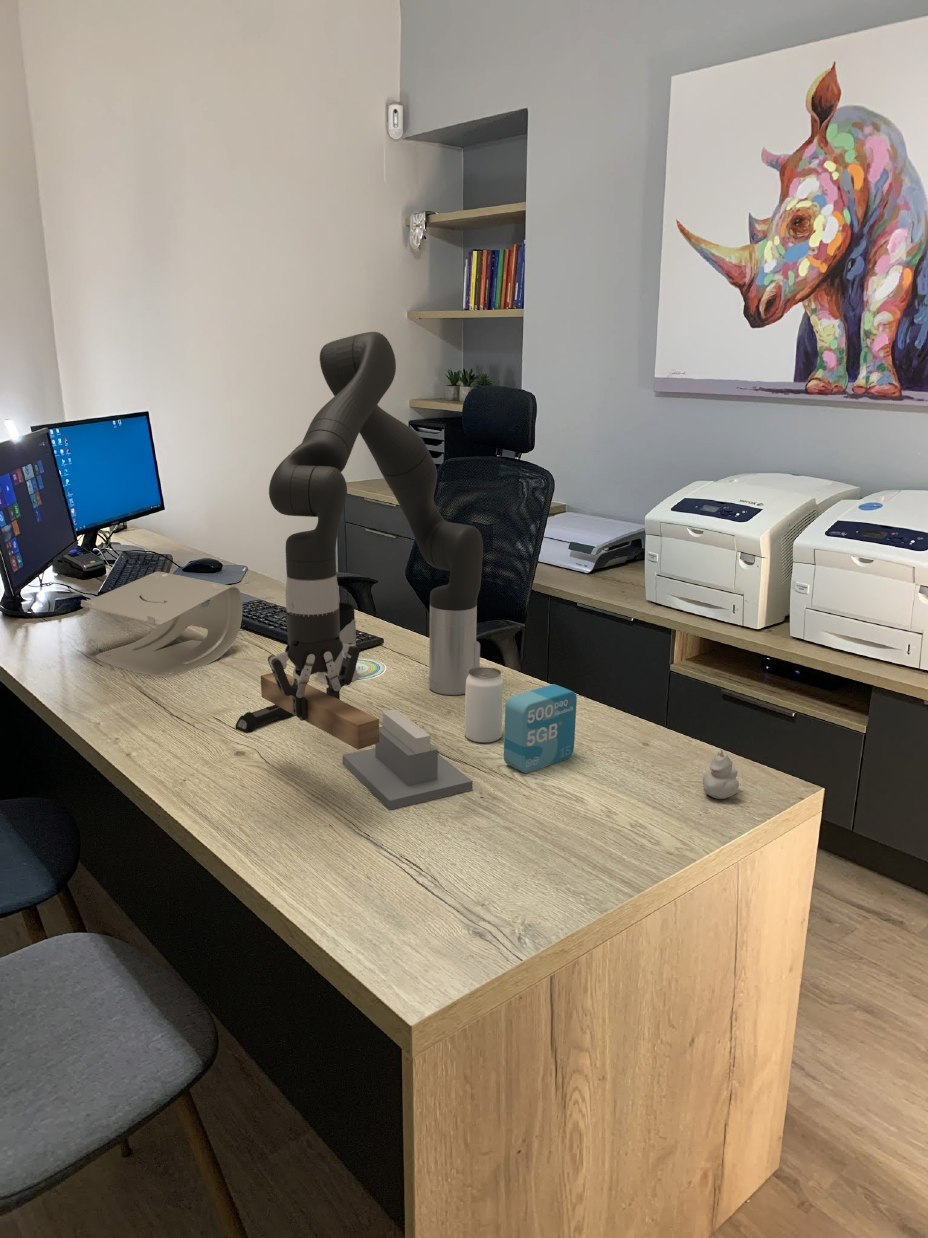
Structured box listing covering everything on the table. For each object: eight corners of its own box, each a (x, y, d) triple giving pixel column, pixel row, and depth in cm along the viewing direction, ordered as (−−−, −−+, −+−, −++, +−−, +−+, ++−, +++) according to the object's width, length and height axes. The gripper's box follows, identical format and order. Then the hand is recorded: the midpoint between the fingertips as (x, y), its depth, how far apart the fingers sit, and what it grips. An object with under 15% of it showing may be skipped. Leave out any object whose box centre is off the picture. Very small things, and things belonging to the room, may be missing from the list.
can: (506, 732, 163) (508, 668, 160) (495, 746, 157) (497, 680, 154) (471, 727, 165) (472, 664, 162) (459, 740, 159) (460, 675, 156)
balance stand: (419, 747, 156) (419, 697, 154) (472, 790, 141) (473, 735, 139) (342, 763, 150) (341, 711, 147) (389, 810, 135) (389, 753, 132)
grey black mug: (347, 687, 184) (345, 614, 180) (284, 678, 188) (281, 607, 184) (365, 673, 192) (364, 604, 188) (304, 665, 196) (302, 597, 192)
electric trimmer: (314, 712, 172) (314, 696, 171) (247, 735, 160) (246, 718, 160) (301, 707, 174) (300, 691, 174) (234, 729, 163) (233, 713, 162)
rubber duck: (692, 794, 141) (697, 746, 139) (718, 783, 145) (723, 736, 143) (722, 808, 137) (727, 758, 135) (747, 795, 141) (753, 747, 139)
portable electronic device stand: (248, 651, 204) (244, 584, 200) (163, 681, 185) (157, 607, 181) (169, 632, 217) (164, 568, 213) (82, 658, 198) (75, 588, 194)
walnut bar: (261, 697, 145) (260, 675, 144) (281, 691, 148) (280, 670, 147) (358, 749, 127) (357, 725, 126) (379, 742, 129) (378, 719, 128)
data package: (521, 776, 146) (523, 705, 143) (502, 766, 150) (504, 697, 147) (574, 757, 154) (578, 689, 150) (555, 748, 157) (558, 682, 154)
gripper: (348, 593, 139) (351, 699, 144) (256, 605, 132) (262, 716, 137) (368, 605, 133) (371, 715, 137) (273, 618, 126) (279, 734, 131)
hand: (316, 715), depth 137 cm, fingers closed on walnut bar, 4 cm apart
